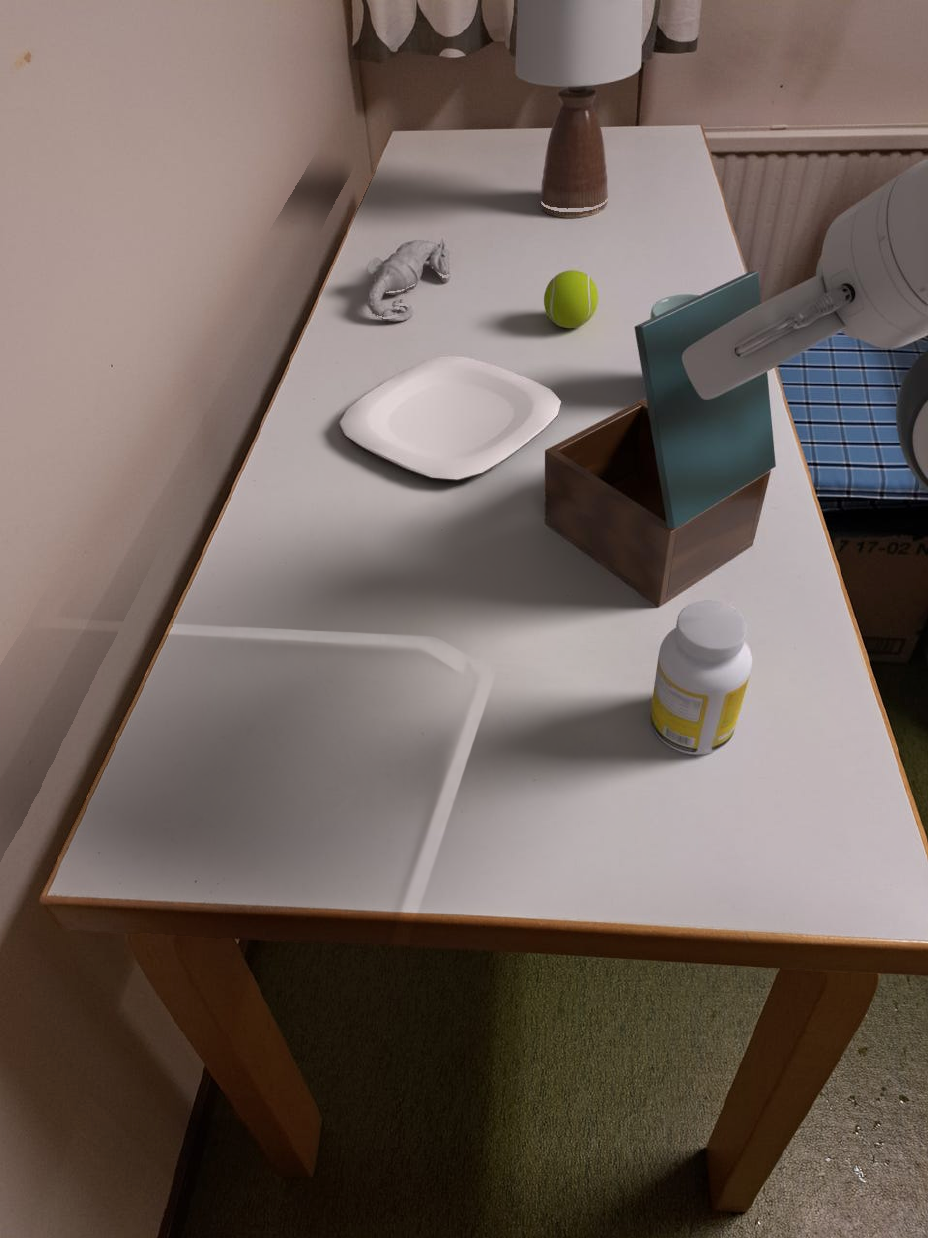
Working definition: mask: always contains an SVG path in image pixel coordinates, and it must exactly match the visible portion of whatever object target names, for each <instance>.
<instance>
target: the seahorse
mask: <svg viewBox="0 0 928 1238" xmlns="http://www.w3.org/2000/svg"><path fill="white" fill-rule="evenodd" d="M426 262H428V265H429V267H430V266H431V267H433V268H432V269H433V270H434V272H436V271H437V272H439V273H441V274H443V275H447V274H450V276H449V277H448V278H442V276H440V275H438V277H439V279H441V282H443V283H444V284H446V283H448V282H449V281H450V279H451V272H450V267H449V266H450V251H449V250H448V249H447V248H446V245H445V241H444V239H442V238H441V241H440V243H436V242H433V241H429V240H425V239H420V240H417V239H415V240H411V241H407V242H404V243H402V244H401V245H400V246H399V247H398V248H397V249H396V250H395V252H394V253H392V254H390V256H389V257H388V258H386V259H384V261H383V260H382V259H380V258H379V257H375V258H372V259H371V260H370V261H369V263H368V264H367V266H366V269H365V271H366V272H367V273H368V274H371V275H372V274H373V275H374V282H373V284H372V286H370V288H369V292H368V293H367V304H366V305H367V308H368V309H369V311H371V314H372V315H373V314H375V315H374V316H376V317H377V315H378V316H382V317H387V316H392V315H396V313H397V311H402V310H403V308H404V311H402V312H399V313H398V314H399V315H398V316H397V317H395V318H391V319H383V318H381V320H382V321H389V322H393V323H395V322H404V321H405V322H406V321H407V320H409V319H410V318H411V317H412V315H413V311H414V308H413V307H412V306H411V304H410V305H409V306H408V307H409V308H408V307H406V306H399V308H402V309H399V310H396V309H394V310H395V311H394V314H393V311H392V309H388V308H387V307H386V305H384V304H383V302H382V298H383V297H384V295H385V294H386V295H390V296H395V295H399V294H402V293H404V292H406V291H412V290H414V289H415V288H416V286H412V287H409V286H411V285H413V284H415V283H417V284H418V282H419V280H420V279H419V277H421V278H422V275H423V271H424V270H423V269H424V265H425V263H426ZM431 267H430V268H431ZM448 267H449V269H448ZM418 279H419V280H418ZM407 287H409V288H407ZM406 288H407V289H406ZM402 289H405V290H404V291H401V292H395V293H386V292H389V291H397V290H402ZM404 301H405V300H403V298H400V299H398V300H393V301H392V303H391V307H392V306H393V307H398V305H396V304H398V303H403V302H404ZM393 307H392V308H393ZM401 313H402V314H401Z"/></svg>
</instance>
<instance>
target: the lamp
mask: <svg viewBox="0 0 928 1238" xmlns="http://www.w3.org/2000/svg"><path fill="white" fill-rule="evenodd" d="M516 14H517V15H516V41H515V67H514V69H515V71H514V73H515V76H516V77H517V78H518V79H519V80H522V81H524V82H527V83H530V84H533V85H539V86H545V87H557V88H558V87H559V88H560V87H561V88H560V89H559V90H557V93H556V97H557V99H558V100H559V103H560V106H559V108H558V110H557V113H556V115H555V119H554V121H553V124H552V127H551V130H550V134H549V137H548V142H547V146H546V152H545V157H544V167H543V172H542V179H541V192H540V198H539V200H540V199H541V201H542V202H543V203H544V204H545V205H548V206H550V207H557V208H567V209H568V208H584V207H594V206H596V205H599V204H601V203H603V202H605V200H606V199H607V198H608V199H609V190H608V174H607V163H606V149H605V143H604V137H603V132H602V128H601V124H600V120H599V117H598V115H597V111H596V109H595V106H594V104H593V103H594V100H595V98H596V96H597V95H598V94H597V93H598V90H597V88H595V87H594V86H597V85H604V84H609V83H613V82H618V81H622V80H624V79H626V78H630V77H632V76H633V75H635V74H637V73H638V72H639V71H640V69H641V68H642V53H643V51H642V50H643V49H642V47H643V46H642V45H643V0H517V13H516ZM539 205H540V207H541V209H542V211H543V212H545V213H546V214H548V215H550V216H554V217H558V218H566V219H573V218H574V219H575V218H585V217H590V216H593V215H596V214H598V213H600V212H602V211H603V210H604V209H606V207H607V206H608V201H607V202H606V203H605V204H604V205H602V206H601V207H598V208H596V209H593V210H589V211H583V212H559V211H554V210H551V209H548V208H546V207H544V206H543V205H542V204H541V202H540V201H539Z"/></svg>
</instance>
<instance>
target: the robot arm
mask: <svg viewBox="0 0 928 1238" xmlns="http://www.w3.org/2000/svg"><path fill="white" fill-rule="evenodd" d="M840 333H842V334H843V335H844V336H847V337H849V338H851V339H855V340H859V341H863V342H864V343H866V344H868V345H870V346H872V347H876V348H879V349H884V350H893V349H894V350H895V349H899V348H902V347H905V346H907V345H909V344H912V343H913V342H917V341H919V340H920V339H922V338H925V337H927V336H928V158H926V159H924V160H920V161H919V162H917V163H915V164H914V165H912V166H910V167H909V168H907V169H906V170H904V171H902V172H901V173H900V174H898V175H897V176H895V177H893V178H892V179H891V180H889V181H888V182H886V183H885V184H883V185H882V186H880V187H879V188H877V189H876V190H874V191H872V192H871V193H869V194H868V195H866V196H865V197H864V198H862V199H861V200H859V201H857V202H856V203H855V204H853V205H852V206H850V207H849V208H848V209H846V210H844V211H843V212H842V213H840V214H839V215H838V216H836V218H835V219H834V220H833V221H832V223H831V224H830V226H829V227H828V229H827V231H826V234H825V236H824V240H823V244H822V250H821V255H820V257H819V258H818V260H817V265H816V270H815V275H814V276H813V277H811V278H808V279H806V280H804V281H802V282H801V283H798V284H797V285H795V286H793V287H790V288H789V289H787V290H785V291H782V292H781V293H778V294H777V295H775V296H773V297H770V298H769V299H767V300H765V301H764V302H761V304H760V305H758V306H756V307H754V308H752V309H751V310H749V311H747V312H745V313H744V314H742V315H740V316H739V317H737V318H735V319H734V320H732V321H730V322H728V323H727V324H725V325H723V326H722V327H720V328H718V329H717V330H715V331H713V332H712V333H710V334H708V335H707V336H705V337H703V338H702V339H700V340H698V341H697V342H695V343H694V344H692V345H690V346H689V347H688V348H687V349H686V350H685V351H684V352H683V354H682V361H683V365H684V367H685V370H686V372H687V375H688V377H689V379H690V381H691V383H692V385H693V387H694V388H695V390H696V392H697V393H698V395H699V396H700V397H701V398H702V399H704V400H710V399H713V398H716V397H718V396H720V395H722V394H724V393H726V392H728V391H730V390H732V389H734V388H736V387H738V386H740V385H742V384H744V383H746V382H748V381H749V380H751V379H753V378H755V377H757V376H759V375H761V374H763V373H765V372H767V373H768V372H769V371H772V370H774V369H775V368H776V367H779V366H780V365H783V364H784V363H786V362H788V361H790V360H792V359H794V358H795V357H797V356H799V355H801V354H803V353H805V352H807V351H808V350H811V349H812V348H814V347H816V346H818V345H820V344H822V343H823V342H826V341H827V340H828V339H830V338H832V337H834V336H836V335H838V334H840ZM895 422H896V430H897V436H898V442H899V445H900V449H901V452H902V455H903V457H904V460H905V462H906V464H907V466H908V468H909V470H910V472H911V474H912V475H913V476H914V478H915V480H916V481H917V482H918V484H919V485H920V486H921V487H922V488H923V489H924V490H925V491H926V492H927V493H928V349H927V350H925V351H924V352H922V354H921V355H920V356H919V357H918V358H916V360H915V361H914V362H913V364H912V365H911V366H910V368H909V369H908V370H907V372H906V374H905V376H904V377H903V380H902V382H901V384H900V387H899V390H898V394H897V398H896V407H895Z"/></svg>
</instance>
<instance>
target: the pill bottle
mask: <svg viewBox="0 0 928 1238" xmlns="http://www.w3.org/2000/svg"><path fill="white" fill-rule="evenodd" d="M747 632H748V626H747V622H746V619H745V618H744V616H743V614H741V612H740V611H739V610H737V609H736V608H735V607H733V606H731V605H729V604H728V603H726V602H725V603H724V602H721V601H718V600H707V599H706V600H698V601H695V602H692V603H690V604H688V605H686V606H685V607H683V608H682V610H681V611H680V612H679V614H678V616H677V619H676V625H675V627H674V628H673V629H671V630H670V631H669V632H668V633H667V634H666V635H665V637H664V638H663V640H662V642H661V644H660V646H659V650H658V657H657V664H656V670H655V671H656V672H655V678H654V686H653V690H652V691H653V692H652V700H651V705H650V706H651V707H650V722H651V726H652V729H653V731H654V733H655V734H656V736H657V737H658V739H660V740H661V741H662V742H663V743H664V744H665V745H666V746H668V747H670V748H671V749H673V750H676V751H677V752H681V753H683V754H688V755H707V754H712V753H714V752H717V751H718V750H721V749H722V748H723V747H725V746H726V745H727V744H729V741H730V740H731V739H732V738H733V736H734V734H735V731H736V727H737V723H738V719H739V717H740V716H739V715H740V712H741V710H742V709H741V708H742V705H743V702H744V698H745V696H746V695H745V694H746V692H747V687H748V684H749V681H750V680H749V679H750V676H751V672H752V667H753V657H752V656H753V655H752V652H751V649H750V647H749V644H748V643H747V642H746V638H747Z"/></svg>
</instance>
